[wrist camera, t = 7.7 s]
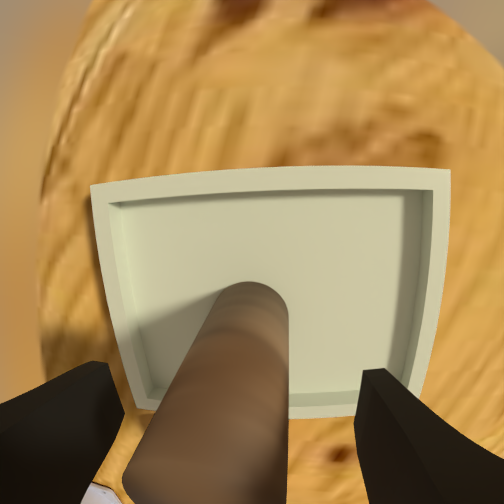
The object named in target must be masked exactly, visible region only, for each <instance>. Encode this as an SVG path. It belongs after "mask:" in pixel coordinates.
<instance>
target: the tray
mask: <svg viewBox="0 0 504 504" xmlns="http://www.w3.org/2000/svg"><path fill="white" fill-rule="evenodd" d="M450 186H451V183H450V170H448V169H434V168H416V167H391V166H292V167H266V168H247V169H231V170H217V171H205V172H193V173H183V174H173V175H163V176H154V177H146V178H138V179H130V180H123V181H115V182H109V183H102V184H95V185H90V190H91V201H92V210H93V219H94V227H95V234H96V241H97V248H98V254H99V260H100V266H101V272H102V277H103V283H104V288H105V293H106V298H107V302H108V307H109V311H110V316H111V320H112V324H113V329H114V333H115V337H116V340H117V344H118V348H119V352H120V355H121V359H122V362H123V366H124V369H125V373H126V376H127V379H128V383H129V386H130V389H131V392H132V395H133V398H134V401H135V404H136V407H137V408H139V409H146V410H153V411H156V410H157V409H158V407H159V405H160V403H161V401H162V399H163V397H164V395H165V394H166V392H167V390H168V388H169V386H170V384H171V382H172V380H173V379H174V377H175V375H176V373H177V371H178V369H179V367H180V365H181V364H182V362H183V360H184V358H185V356H186V354H187V352H188V351H189V349H190V347H191V345H192V343H193V341H194V339H195V338H196V336H197V334H198V332H199V330H200V328H201V326H202V325H203V323H204V321H205V319H206V317H207V315H208V314H209V312H210V310H211V308H212V306H213V304H214V302H215V301H216V299H217V297H218V296H219V295H220V293H221V292H222V291H223V290H224V289H226V288H227V287H229V286H231V285H233V284H236V283H239V282H245V281H253V282H259V283H262V284H265V285H267V286H269V287H271V288H272V289H274V290H275V291H276V292H277V293H278V294H279V295H280V296H281V297H282V298H283V300H284V302H285V303H286V306H287V309H288V315H289V419H308V418H327V417H341V416H353V415H355V414H356V409H357V403H358V397H359V391H360V385H361V379H362V372H363V370H368V369H378V368H385V369H386V370H388V371H389V372H390V373H391V374H392V375H393V376H394V377H395V378H396V379H397V380H398V381H399V382H400V383H402V384H403V385H404V386H405V387H406V388H407V389H408V390H409V391H410V392H411V393H412V394H413V395H415V396H416V397H417V398H418V399H419V397H420V394H421V390H422V387H423V383H424V380H425V376H426V372H427V368H428V364H429V360H430V356H431V352H432V347H433V343H434V338H435V333H436V328H437V323H438V318H439V312H440V306H441V300H442V293H443V286H444V279H445V270H446V261H447V251H448V239H449V223H450Z"/></svg>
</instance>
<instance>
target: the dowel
mask: <svg viewBox="0 0 504 504" xmlns="http://www.w3.org/2000/svg"><path fill="white" fill-rule="evenodd" d="M288 426H289V315H288V309H287V306H286V303H285V302H284V300H283V298H282V297H281V296H280V295H279V294H278V293H277V292H276V291H275V290H274V289H272V288H271V287H269V286H267V285H265V284H262V283H259V282H253V281H245V282H239V283H236V284H233V285H231V286H229V287H227V288H226V289H224V290H223V291H222V292H221V293H220V295H219V296H218V297H217V299H216V301H215V302H214V304H213V306H212V308H211V310H210V312H209V314H208V315H207V317H206V319H205V321H204V323H203V325H202V326H201V328H200V330H199V332H198V334H197V336H196V338H195V339H194V341H193V343H192V345H191V347H190V349H189V351H188V352H187V354H186V356H185V358H184V360H183V362H182V364H181V365H180V367H179V369H178V371H177V373H176V375H175V377H174V379H173V380H172V382H171V384H170V386H169V388H168V390H167V392H166V394H165V395H164V397H163V399H162V401H161V403H160V405H159V407H158V409H157V410H156V412H155V414H154V416H153V418H152V420H151V422H150V424H149V426H148V427H147V429H146V431H145V433H144V435H143V437H142V439H141V441H140V443H139V444H138V446H137V448H136V450H135V452H134V454H133V456H132V458H131V460H130V462H129V463H128V465H127V467H126V469H125V471H124V473H123V476H122V484H123V488H124V489H125V491H126V493H127V495H128V496H129V497H130V498H131V500H132V501H133V502H134V503H135V504H286V496H287V468H288Z"/></svg>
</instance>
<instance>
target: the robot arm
mask: <svg viewBox="0 0 504 504" xmlns="http://www.w3.org/2000/svg"><path fill="white" fill-rule="evenodd" d="M124 415H125V412H124V410H123V407H122V404H121V402H120V399H119V396H118V393H117V390H116V387H115V384H114V381H113V378H112V375H111V372H110V369H109V366H108V363H103V362H97V361H90V362H87V363H85V364H82V365H80V366H78V367H76V368H74V369H72V370H70V371H68V372H66V373H64V374H62V375H60V376H58V377H56V378H54V379H52V380H50V381H48V382H46V383H44V384H42V385H41V386H39V387H37V388H35V389H33V390H30V391H28V392H26V393H24V394H22V395H19V396H17V397H15V398H13V399H11V400H9V401H6V402H4V403H1V404H0V504H122V503H121V501H120V500H119V499H118V497H117V496H116V494H115V493H114V491H113V490H111V489H109V488H106V487H103V486H100V485H97V484H94V483H91V482H92V480H93V478H94V477H95V475H96V473H97V471H98V470H99V468H100V466H101V464H102V462H103V461H104V459H105V457H106V455H107V454H108V452H109V450H110V448H111V446H112V444H113V443H114V441H115V439H116V436H117V434H118V431H119V429H120V426H121V423H122V420H123V417H124ZM354 431H355V440H356V447H357V455H358V459H359V463H360V467H361V471H362V475H363V479H364V483H365V487H366V491H367V496H368V500H369V504H504V459H502V458H500V457H498V456H496V455H495V454H493V453H491V452H489V451H488V450H486V449H484V448H483V447H481V446H479V445H478V444H476V443H474V442H473V441H471V440H470V439H468V438H467V437H465V436H464V435H463V434H461V433H460V432H459V431H457V430H456V429H454V428H453V427H452V426H450V425H449V424H448V423H446V422H445V421H444V420H443V419H441V418H440V417H439V416H438V415H436V414H435V413H434V412H433V411H432V410H430V409H429V408H428V407H427V406H426V405H425V404H424V403H422V402H421V401H420V400H419V399H418V398H417V397H416V396H415V395H413V394H412V393H411V392H410V391H409V390H408V389H407V388H406V387H405V386H404V385H403V384H402V383H400V382H399V381H398V380H397V379H396V378H395V377H394V376H393V375H392V374H391V373H390V372H389V371H388V370H386V369H385V368H378V369H368V370H363V372H362V379H361V385H360V391H359V397H358V403H357V409H356V414H355V419H354Z"/></svg>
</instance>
